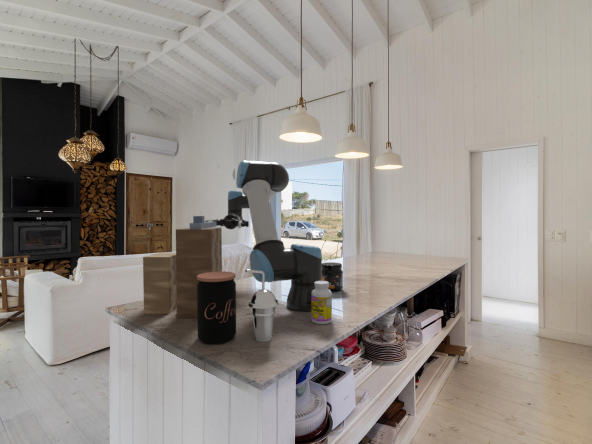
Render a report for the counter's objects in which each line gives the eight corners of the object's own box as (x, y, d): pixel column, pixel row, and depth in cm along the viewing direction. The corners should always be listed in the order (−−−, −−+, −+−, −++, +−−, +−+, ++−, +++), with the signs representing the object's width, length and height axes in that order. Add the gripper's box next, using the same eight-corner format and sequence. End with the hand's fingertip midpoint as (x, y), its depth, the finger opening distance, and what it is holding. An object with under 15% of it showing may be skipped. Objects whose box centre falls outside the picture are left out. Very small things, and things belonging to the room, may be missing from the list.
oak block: (160, 302, 127) (159, 252, 127) (183, 303, 127) (182, 252, 127) (143, 313, 114) (143, 257, 113) (169, 313, 114) (168, 257, 113)
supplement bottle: (307, 321, 105) (307, 282, 105) (319, 316, 110) (319, 279, 110) (323, 326, 100) (323, 285, 100) (335, 321, 105) (335, 282, 105)
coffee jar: (201, 348, 84) (200, 280, 84) (194, 334, 94) (193, 273, 93) (241, 340, 89) (240, 276, 89) (230, 328, 99) (229, 270, 98)
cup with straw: (279, 344, 87) (278, 270, 86) (245, 345, 86) (244, 270, 86) (278, 332, 95) (277, 265, 95) (247, 333, 95) (246, 265, 94)
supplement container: (315, 290, 147) (315, 264, 147) (327, 286, 156) (327, 261, 156) (336, 293, 141) (336, 266, 141) (346, 289, 150) (346, 263, 150)
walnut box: (190, 305, 123) (189, 227, 123) (222, 305, 123) (222, 227, 122) (176, 317, 109) (174, 229, 108) (212, 318, 109) (211, 229, 108)
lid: (206, 226, 130) (206, 215, 130) (216, 226, 130) (216, 215, 130) (189, 229, 110) (189, 216, 110) (201, 229, 110) (201, 216, 110)
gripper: (256, 229, 165) (251, 233, 144) (207, 228, 164) (195, 233, 143) (256, 214, 164) (251, 217, 143) (207, 213, 164) (195, 216, 142)
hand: (223, 225), depth 143 cm, fingers open, 13 cm apart
